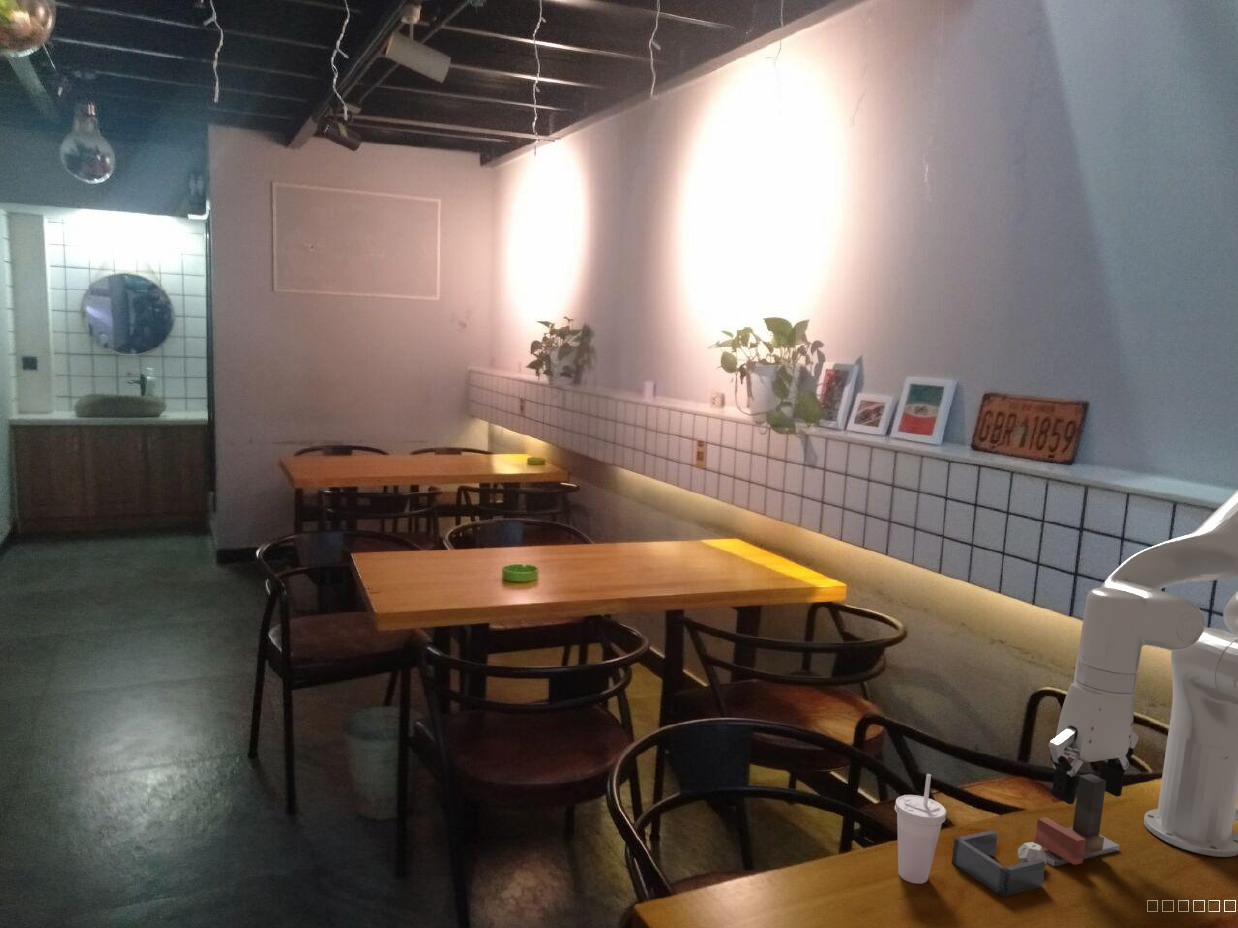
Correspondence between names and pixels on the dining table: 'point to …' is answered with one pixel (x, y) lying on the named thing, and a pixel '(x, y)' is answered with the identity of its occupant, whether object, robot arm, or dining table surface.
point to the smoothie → (917, 834)
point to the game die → (1031, 852)
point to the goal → (995, 865)
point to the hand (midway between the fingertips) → (1086, 795)
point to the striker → (1077, 824)
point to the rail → (1107, 848)
